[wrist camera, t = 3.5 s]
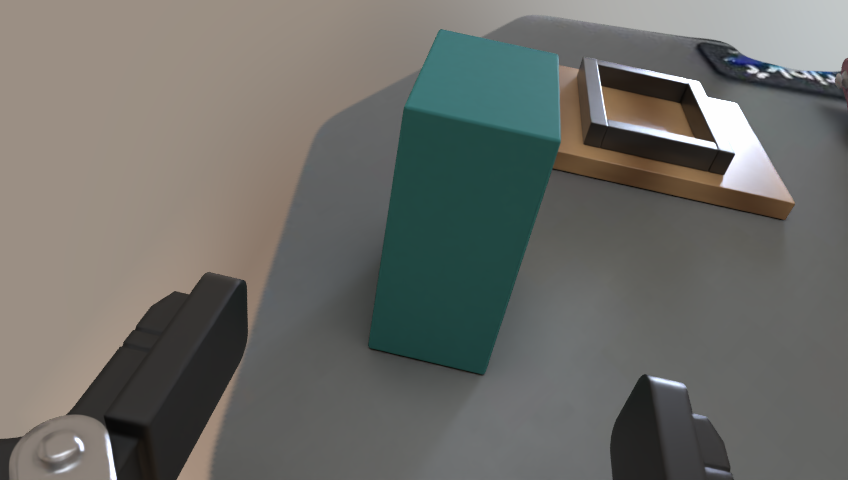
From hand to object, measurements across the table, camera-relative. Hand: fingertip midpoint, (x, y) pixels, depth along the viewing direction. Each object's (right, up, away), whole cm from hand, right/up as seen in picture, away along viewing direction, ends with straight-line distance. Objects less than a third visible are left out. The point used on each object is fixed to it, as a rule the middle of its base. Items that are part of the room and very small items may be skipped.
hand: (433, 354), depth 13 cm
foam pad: (0, 0, +14) cm, 14 cm away
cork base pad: (+14, +9, +29) cm, 34 cm away
